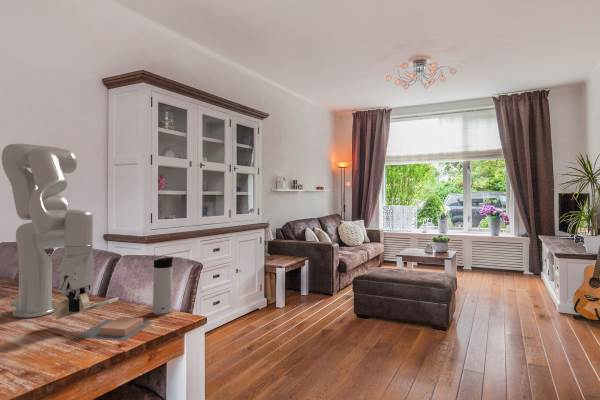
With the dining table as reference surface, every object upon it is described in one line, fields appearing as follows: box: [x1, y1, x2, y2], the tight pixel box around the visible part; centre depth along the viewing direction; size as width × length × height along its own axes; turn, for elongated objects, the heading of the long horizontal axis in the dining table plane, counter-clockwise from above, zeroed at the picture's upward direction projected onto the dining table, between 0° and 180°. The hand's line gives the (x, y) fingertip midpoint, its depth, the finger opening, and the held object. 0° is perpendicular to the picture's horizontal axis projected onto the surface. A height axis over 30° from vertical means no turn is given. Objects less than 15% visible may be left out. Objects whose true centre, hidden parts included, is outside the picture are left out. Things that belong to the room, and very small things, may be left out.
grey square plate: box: [73, 318, 154, 342], centre depth 115 cm, size 16×16×1 cm
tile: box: [100, 316, 144, 336], centre depth 115 cm, size 2×10×8 cm
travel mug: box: [152, 256, 174, 316], centre depth 132 cm, size 6×7×20 cm
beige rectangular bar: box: [52, 293, 119, 320], centre depth 116 cm, size 19×5×5 cm, turn 82°
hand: (78, 309), depth 117 cm, fingers closed on beige rectangular bar, 2 cm apart
